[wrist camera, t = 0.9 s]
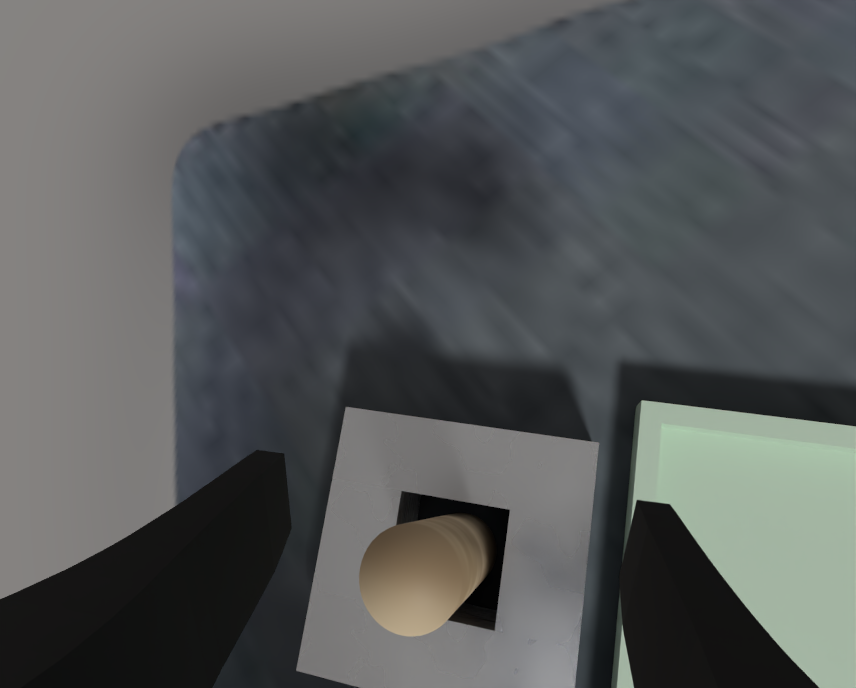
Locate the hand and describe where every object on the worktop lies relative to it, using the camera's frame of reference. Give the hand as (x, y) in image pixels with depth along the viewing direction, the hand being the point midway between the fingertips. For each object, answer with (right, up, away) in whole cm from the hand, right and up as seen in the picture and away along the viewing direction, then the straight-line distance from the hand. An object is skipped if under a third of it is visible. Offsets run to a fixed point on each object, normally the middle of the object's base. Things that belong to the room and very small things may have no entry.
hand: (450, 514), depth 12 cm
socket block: (+1, -5, +13) cm, 14 cm away
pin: (+1, -5, +13) cm, 14 cm away
